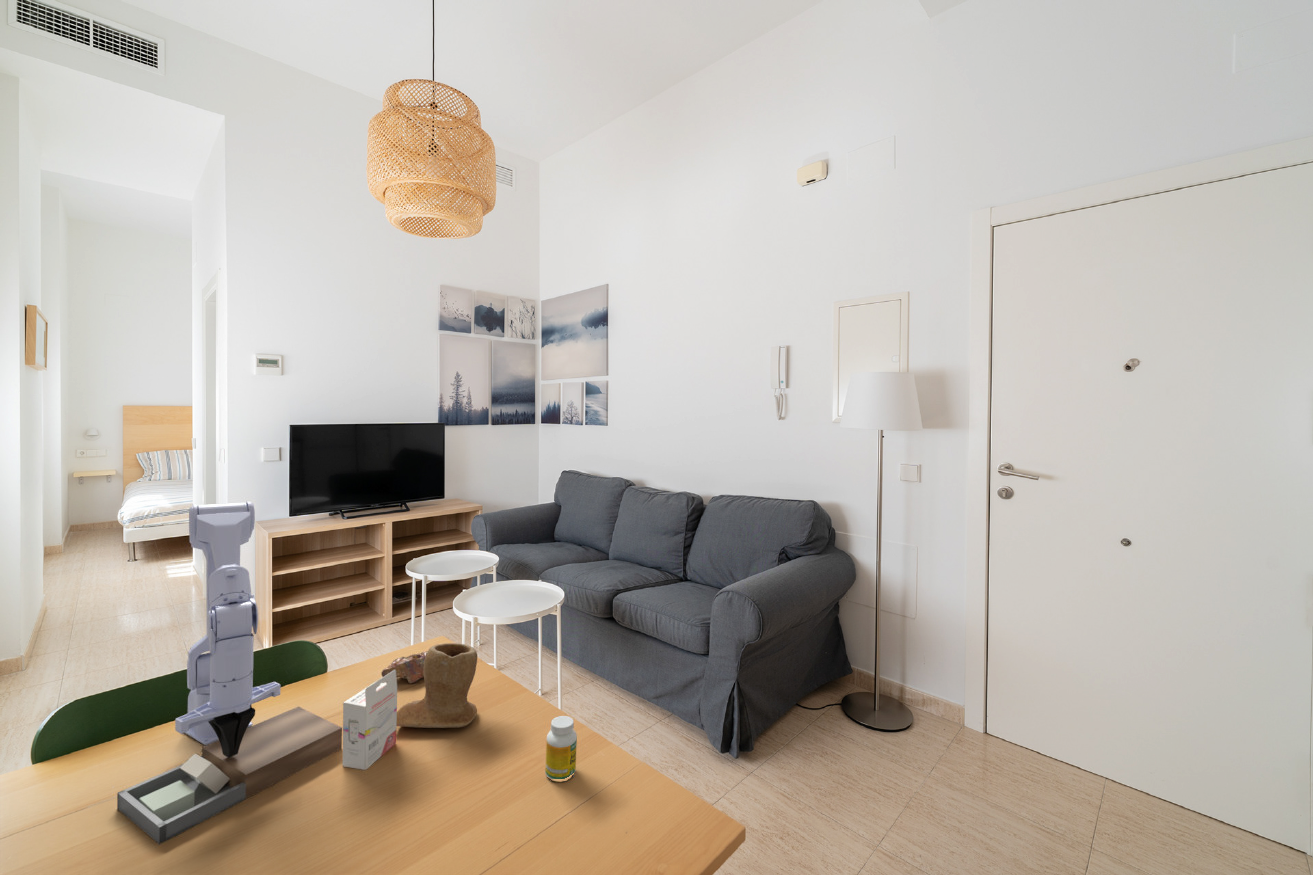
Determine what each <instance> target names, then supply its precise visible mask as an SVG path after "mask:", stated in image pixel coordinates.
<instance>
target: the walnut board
mask: <svg viewBox="0 0 1313 875" xmlns="http://www.w3.org/2000/svg"><path fill="white" fill-rule="evenodd" d="M201 750H202V751H201V756H203V757H204V759H206V760H207V761H209V762H211V763H212V764H214V765H215V766H216V767H217V768H218V769H219V770H221V771H222V772H223V773H224V774H225V775H226V776H227V777H229V778H230V780H229V781H228V782H227V783H226V784H227V785H229V786H230V787H232V788H233V787H235V786H237V785H239V784H241V783H245V784H246V795H245V800H246V799H249V798H250V797H252V796H254V795H256V794H258V793H260V792H261V791H263V790H265V789H267V788H269V787H271V786H273V785H275V784H277V783H279V782H281V781H283V780H284V779H287V778H288V777H290V776H293V775H294V774H296V773H299V772H300V771H301V770H303V769H306V768H307V767H309V766H311V765H312V764H313V765H314V763H317V762H319V761H321V760H323V759H325V758H326V757H328V756H330V755H332V754H334V753H336V752H338V751H339V750H343V726H340V725H337V724H336V723H333V722H331V721H329V720H327V719H325V718H323V717H321V716H319V715H317V714H315V713H313V712H312V711H311V712H310V711H309V710H307V709H304V708H302V707H300V706H296V707H294V708H291V709H288V710H287V711H285V712H282V713H280V714H278V715H275V716H273V717H270V718H268V719H266V720H263V721H261V722H259V723H256V724H253V725H252V726H251V727H248V728H247V729H246V731H245V733H244V736H243V738H242V741H241V744H240V748H239V751H238V754H236V755H234V756H232V757H230V758H228V757H226V756H225V755H223V752H222V748H221V744H220V742H219V740H218V741H215V742H213V743H211V744H208V745H204V746H202V748H201Z"/></svg>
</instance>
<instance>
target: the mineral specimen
mask: <svg viewBox="0 0 1313 875" xmlns="http://www.w3.org/2000/svg"><path fill="white" fill-rule="evenodd" d="M427 652H428V650H427V651H422V652H420V653H417V654H415V653H413V654H411V655H408V656H401V657H399V658H395V659H394V660H393V661H392V662H391V663H390V664H389V665H388V666H387V667H385V668H384V669H382V671H381V672H380V673H381V676H382V677H384V676H385V675H387V674H389V673H390V672H392V671H393V670H396V679H399V678H400V679H405V680H407V681H408V684H412V683H416V682H418V681H419V680H421V679H422V678H424V660H425V656H426V654H427ZM382 677H381V678H382Z"/></svg>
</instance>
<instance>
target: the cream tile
mask: <svg viewBox="0 0 1313 875" xmlns="http://www.w3.org/2000/svg"><path fill="white" fill-rule="evenodd" d="M182 764H183V765H182ZM182 764H181V765H182V766H181V767H180V769H182V770H183V771H184V772H185V773H187V774H188V775H189V776H190V777H191V778H193V779H194V780H195V781H196V782H198V783H199V784H200V785H202V786H204V787H205V788H207V789H209V790H210V791H212V792H214V793H215V794H216V793H217V792H218V791H219V790H220V789H221V788H222V787H223V786H224V785H225V784H226V783H227V782H228V781H229V780H230V778H229V777H227V776H226V775H225V774H224V773H223V772H222V771H221V770H219V769H218V768H217V767H216V766H215V765H214V764H212V763H211V762H209V761H207V760H206V759H204V758H202V757H201V756H200V755H198V754H197V753H194V754H193V755H191V757H189V759H187V760H186V762H184V763H182Z"/></svg>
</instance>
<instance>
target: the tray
mask: <svg viewBox="0 0 1313 875" xmlns="http://www.w3.org/2000/svg"><path fill="white" fill-rule="evenodd" d="M200 757H202V758H204V757H203V756H202V755H201V756H200ZM183 764H184V763H182V764H180V765H178V766H175V767H173V768H171V769H169V770H166V771H164V772H162V773H160V774H157V775H154V776H152V777H151V778H148V779H146V780H143V781H141V782H138V783H136V784H134V785H132V786H130V787H128V788H125V789H123V790H120V791H118V792H117V799H116V800H117V802H116V804H117V806H116V808H117V809H118V810H119V811H120V812H121V813H122V814H123V815H124V816H125V817H127V818H128V819H129V820H130V821H131V822H132V823H134V825H136V826H137V827H138V828H140V829H141V830H142V831H143V832H144V833H145V834H147V835H148V836H149V837H150V838H151V839H153V840H154V841H155V842H156V843H157V844H158V845H161V844H162V843H165V842H166V841H169V840H170V839H172V838H174V837H176V836H178V835H180V834H181V833H184V832H186V831H188V830H189V829H192V828H193V827H195V826H197V825H199V824H201V823H202V822H205V821H206V820H208V819H210V818H213V817H214V816H216V815H218V814H220V813H222V812H223V811H225V810H228V809H229V808H231V807H233V806H235V805H237V804H239V803H241V802H243V801H244V800H246V799H245V795H246V784H245V783H241V784H239V785H237V786H235V787H233V788H232V787H230V786H229V785H227V784H225V785H224V786H223V787H222V788H221V789H220V790H219V791H218V792H217V793H216V794H215V793H214V792H212V791H210V790H209V789H207V788H205V787H204V786H202V785H200V784H199V783H198V782H196V781H195V780H194V779H193V778H191V777H190V776H189V775H188V774H187V773H185V772H184V771H183V770H182V769H180V767H181V766H182V765H183ZM179 780H180V781H182V782H183V783H184V784H186V785H187V786H188V787H189V788H191V789H192V790H193V791H194V807H192V808H190V809H188V810H186V811H184V812H182V813H180V814H178V815H176V816H174V817H172V818H170V819H168V820H166V821H162V820H161V819H160V818H159V817H157V816H156V815H155V814H154V813H152V812H151V811H150V810H149V809H147V808H146V807H145V806H144V805H143V804H141V803H140V802H139V798H141V797H143V796H146V795H148V794H150V793H152V792H155V791H157V790H159V789H161V788H164V787H166V786H168V785H170V784H173V783H175V782H177V781H179Z"/></svg>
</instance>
